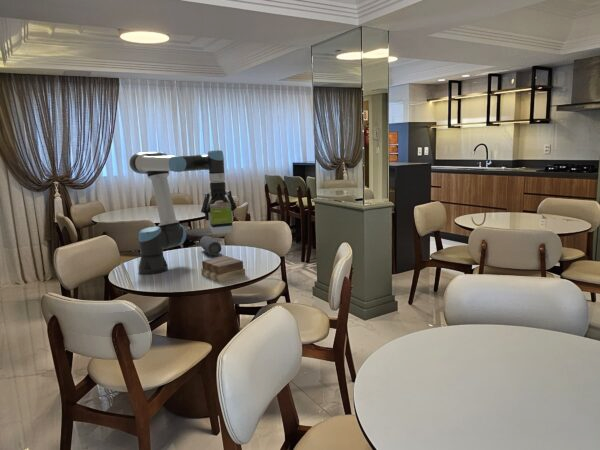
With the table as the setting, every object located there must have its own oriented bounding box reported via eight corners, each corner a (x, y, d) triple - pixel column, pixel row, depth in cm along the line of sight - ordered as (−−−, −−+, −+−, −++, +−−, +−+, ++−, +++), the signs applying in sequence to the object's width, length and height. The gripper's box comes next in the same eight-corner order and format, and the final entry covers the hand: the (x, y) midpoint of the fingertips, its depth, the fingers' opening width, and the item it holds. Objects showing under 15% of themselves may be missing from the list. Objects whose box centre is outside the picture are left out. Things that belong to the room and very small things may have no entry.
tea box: (208, 229, 225) (206, 201, 222) (228, 228, 228) (226, 200, 225) (213, 234, 211) (210, 204, 208) (233, 233, 214) (231, 203, 211)
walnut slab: (202, 268, 224) (202, 260, 224) (226, 263, 233) (225, 255, 232) (219, 274, 211) (218, 266, 211) (243, 268, 220) (242, 261, 220)
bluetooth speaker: (223, 256, 264) (222, 240, 262) (208, 258, 260) (206, 242, 259) (213, 249, 284) (212, 234, 283) (199, 251, 281) (198, 235, 279)
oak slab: (201, 275, 225) (201, 268, 224) (226, 269, 234) (226, 262, 234) (219, 283, 211) (219, 275, 211) (245, 276, 221) (244, 268, 220)
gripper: (199, 184, 204) (202, 229, 208) (242, 180, 220) (244, 222, 224) (191, 183, 210) (195, 227, 214) (234, 179, 226) (236, 220, 229)
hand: (220, 224), depth 219 cm, fingers closed on tea box, 12 cm apart
